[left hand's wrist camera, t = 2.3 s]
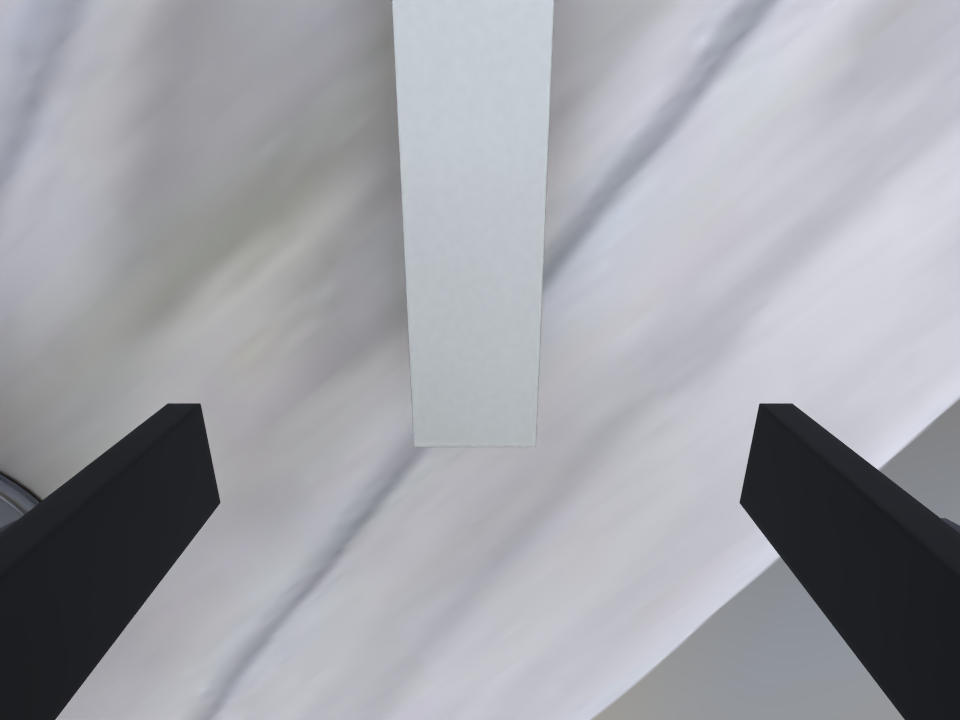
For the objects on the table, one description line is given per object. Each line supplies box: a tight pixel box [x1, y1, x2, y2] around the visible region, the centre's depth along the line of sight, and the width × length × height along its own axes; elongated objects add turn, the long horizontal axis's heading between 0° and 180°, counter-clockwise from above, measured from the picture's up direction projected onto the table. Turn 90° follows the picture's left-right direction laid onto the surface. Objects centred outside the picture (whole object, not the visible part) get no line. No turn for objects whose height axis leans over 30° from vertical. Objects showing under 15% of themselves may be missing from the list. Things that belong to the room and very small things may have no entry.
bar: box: [392, 0, 554, 447], centre depth 21 cm, size 26×5×9 cm, turn 0°
